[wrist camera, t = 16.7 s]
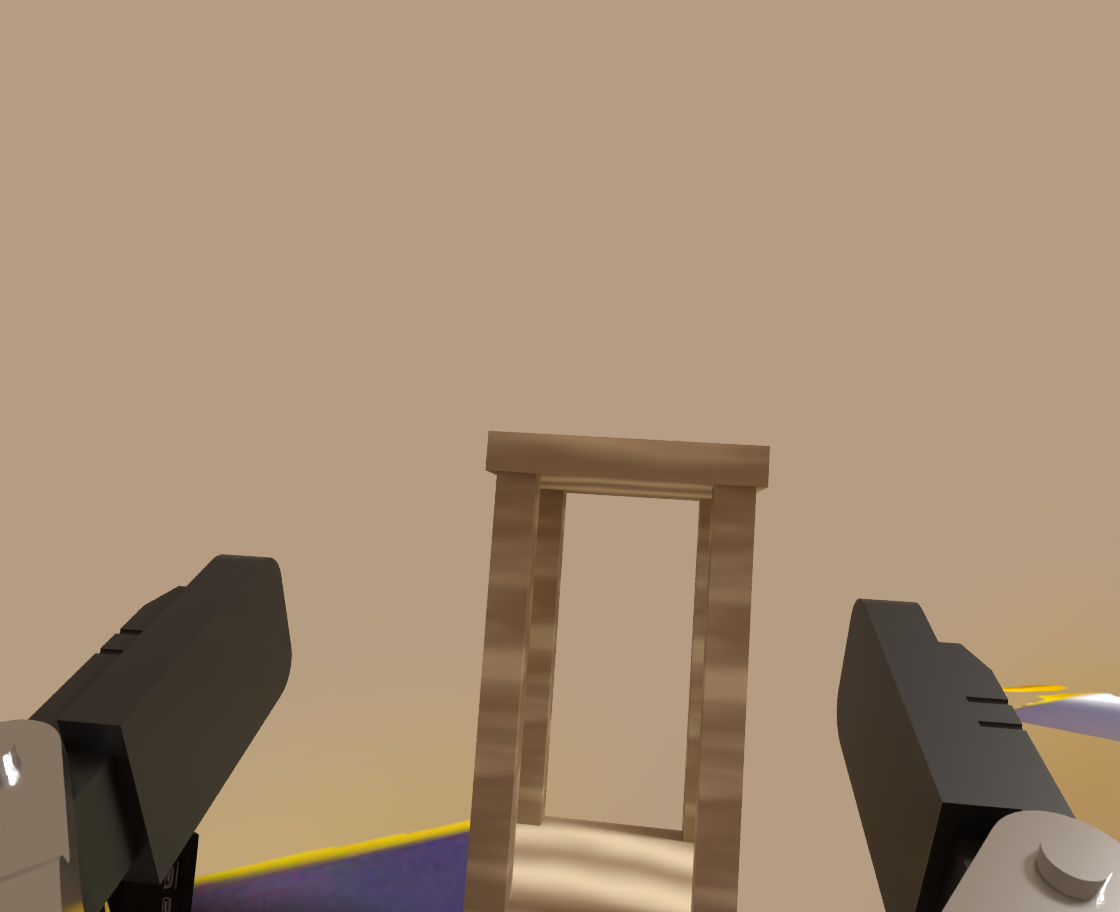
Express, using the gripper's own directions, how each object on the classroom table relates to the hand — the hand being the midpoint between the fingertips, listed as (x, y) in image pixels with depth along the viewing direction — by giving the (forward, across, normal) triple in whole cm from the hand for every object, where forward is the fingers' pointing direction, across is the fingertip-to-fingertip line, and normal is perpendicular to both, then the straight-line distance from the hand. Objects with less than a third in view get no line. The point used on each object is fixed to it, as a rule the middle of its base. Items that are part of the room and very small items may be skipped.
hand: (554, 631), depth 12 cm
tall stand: (+21, 0, +41) cm, 46 cm away
